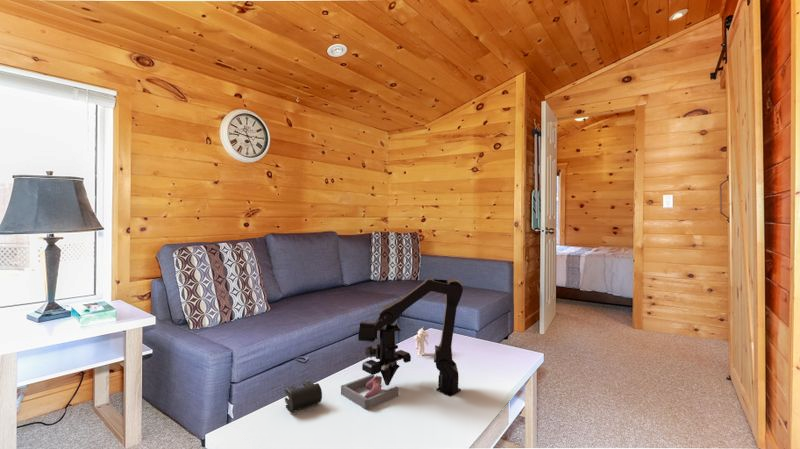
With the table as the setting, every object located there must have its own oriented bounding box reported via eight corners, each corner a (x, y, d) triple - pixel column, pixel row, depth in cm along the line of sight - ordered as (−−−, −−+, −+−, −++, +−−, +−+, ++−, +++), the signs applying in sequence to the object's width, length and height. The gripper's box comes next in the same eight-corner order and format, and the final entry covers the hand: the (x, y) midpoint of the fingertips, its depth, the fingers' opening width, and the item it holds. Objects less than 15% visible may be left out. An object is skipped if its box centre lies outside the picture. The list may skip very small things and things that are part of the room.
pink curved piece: (375, 406, 127) (384, 387, 127) (362, 399, 127) (372, 381, 127) (375, 392, 137) (385, 374, 137) (364, 386, 137) (373, 369, 137)
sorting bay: (398, 395, 131) (398, 387, 131) (366, 410, 122) (366, 400, 122) (372, 382, 142) (372, 374, 141) (340, 394, 132) (341, 385, 132)
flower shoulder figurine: (423, 350, 175) (424, 324, 174) (430, 352, 172) (431, 326, 172) (411, 356, 168) (412, 329, 167) (418, 358, 165) (419, 331, 165)
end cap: (292, 417, 117) (292, 395, 117) (283, 407, 123) (283, 386, 122) (322, 407, 123) (322, 386, 123) (312, 398, 129) (312, 378, 129)
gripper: (391, 331, 149) (391, 370, 149) (352, 342, 136) (352, 385, 137) (412, 338, 141) (411, 380, 141) (372, 350, 128) (372, 396, 129)
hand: (387, 385), depth 137 cm, fingers closed
